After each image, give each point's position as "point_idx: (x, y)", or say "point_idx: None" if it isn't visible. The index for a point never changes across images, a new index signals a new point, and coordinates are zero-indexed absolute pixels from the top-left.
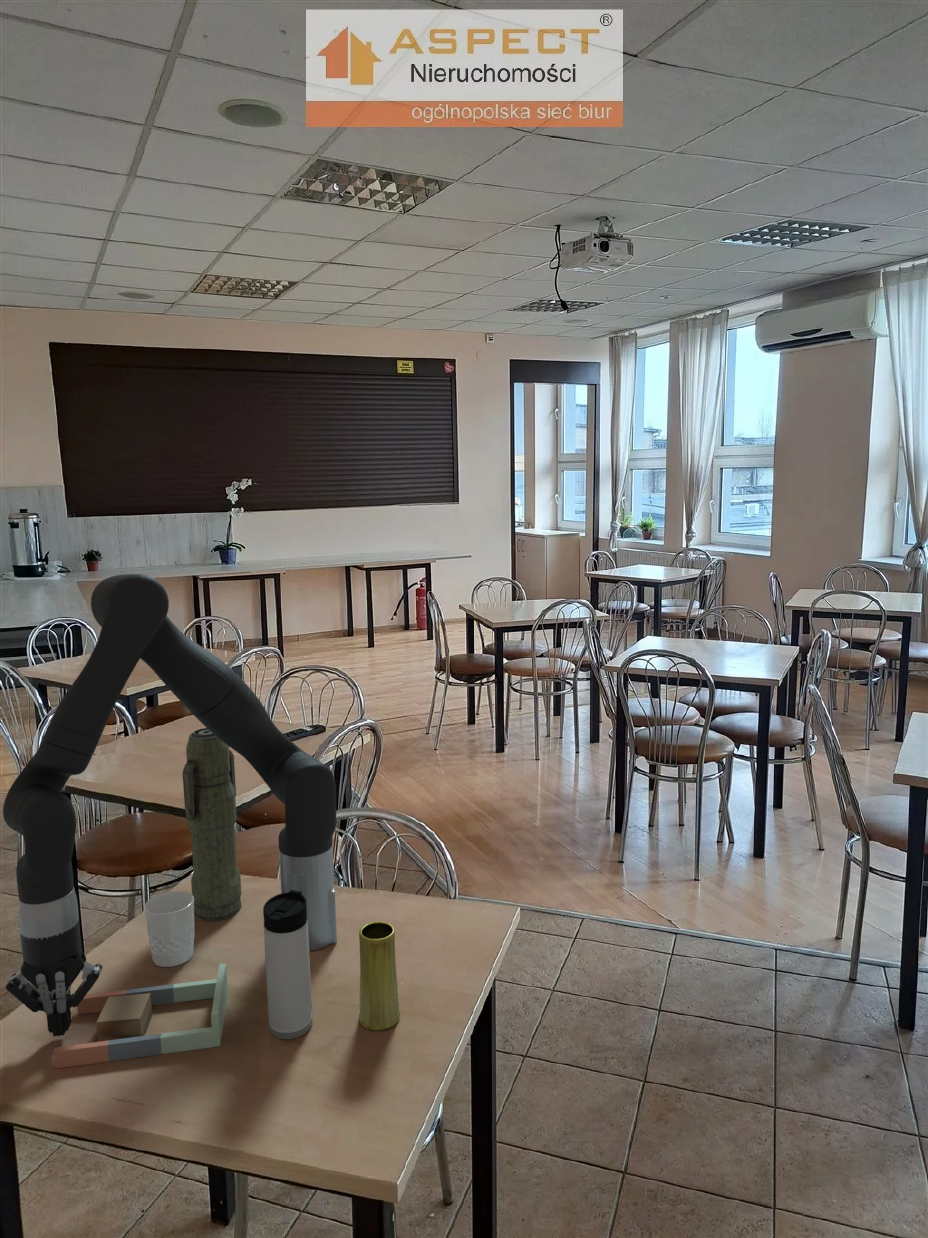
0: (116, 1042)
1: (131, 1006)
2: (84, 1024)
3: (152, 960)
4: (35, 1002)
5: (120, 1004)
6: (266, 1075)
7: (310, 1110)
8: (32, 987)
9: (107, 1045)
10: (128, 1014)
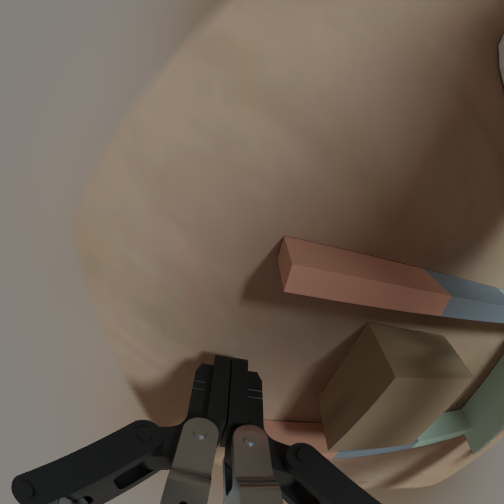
0: (348, 455)
1: (418, 418)
2: (295, 317)
3: (501, 68)
4: (146, 478)
5: (404, 411)
6: (454, 444)
7: (445, 464)
8: (106, 478)
9: (331, 457)
10: (399, 437)
